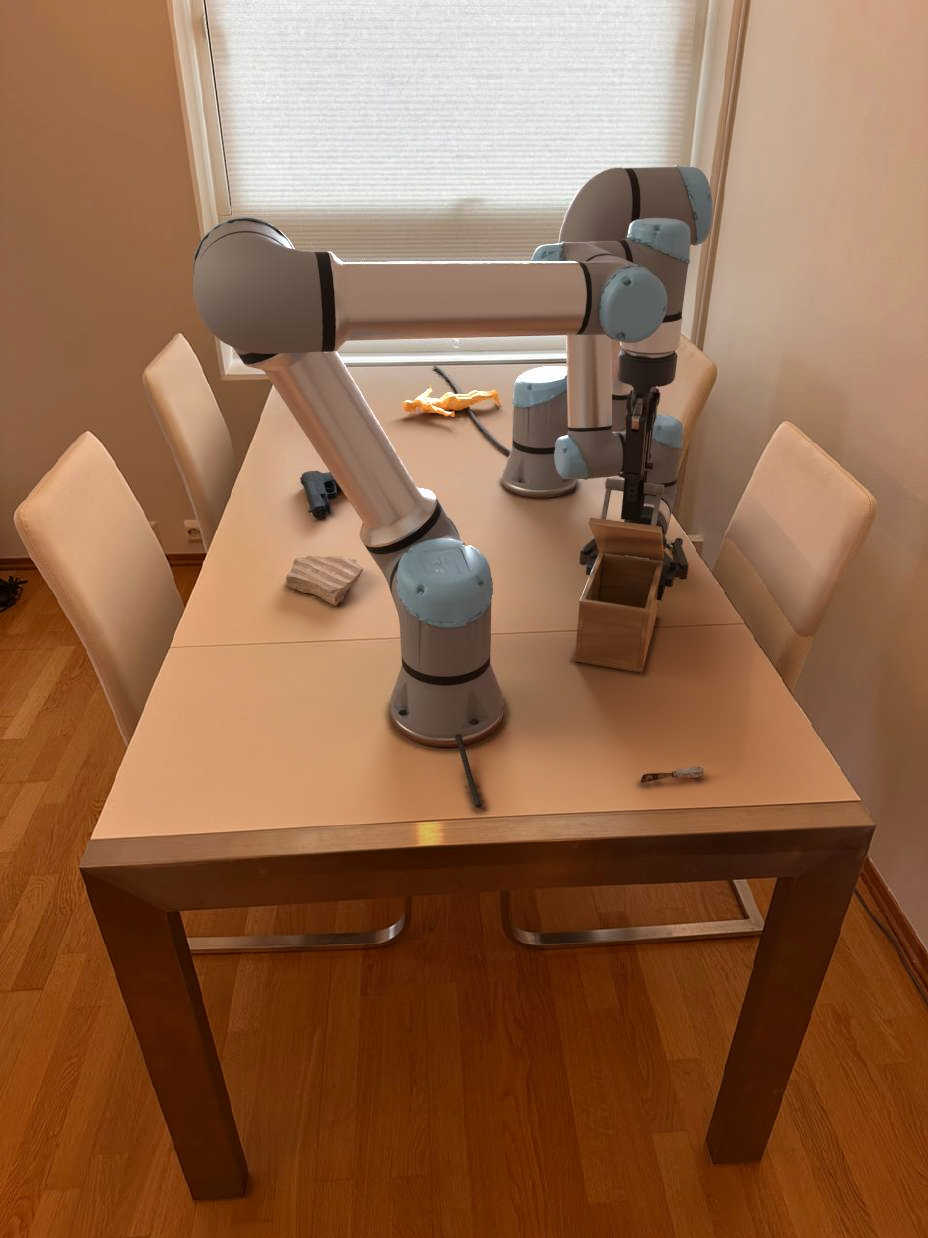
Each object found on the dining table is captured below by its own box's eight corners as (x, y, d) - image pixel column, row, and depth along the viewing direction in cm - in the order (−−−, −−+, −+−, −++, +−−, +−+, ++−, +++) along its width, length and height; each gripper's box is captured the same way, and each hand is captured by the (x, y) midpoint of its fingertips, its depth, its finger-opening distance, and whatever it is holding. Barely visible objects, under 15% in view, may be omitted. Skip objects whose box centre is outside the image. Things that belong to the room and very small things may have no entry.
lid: (660, 533, 120) (670, 477, 121) (588, 523, 122) (598, 469, 123) (663, 561, 135) (671, 511, 136) (599, 552, 138) (607, 503, 139)
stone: (372, 573, 153) (371, 560, 152) (338, 607, 144) (336, 593, 143) (307, 560, 158) (306, 548, 156) (270, 592, 148) (268, 579, 147)
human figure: (395, 413, 223) (394, 398, 221) (438, 390, 237) (438, 375, 235) (462, 429, 215) (462, 413, 213) (502, 404, 229) (503, 388, 227)
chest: (641, 673, 129) (649, 611, 123) (574, 661, 131) (579, 600, 126) (655, 618, 141) (663, 561, 136) (594, 609, 144) (599, 552, 138)
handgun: (371, 513, 174) (309, 521, 172) (356, 478, 189) (299, 484, 186) (370, 498, 173) (308, 506, 170) (355, 464, 187) (297, 470, 184)
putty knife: (703, 777, 109) (705, 767, 109) (642, 788, 108) (644, 777, 107) (700, 772, 110) (702, 762, 109) (639, 782, 109) (640, 771, 108)
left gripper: (628, 333, 122) (615, 493, 134) (609, 362, 110) (596, 534, 123) (684, 337, 120) (665, 499, 132) (670, 367, 108) (650, 541, 121)
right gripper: (709, 553, 153) (697, 620, 135) (580, 536, 159) (551, 597, 141) (715, 514, 149) (703, 576, 131) (582, 497, 155) (554, 555, 137)
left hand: (632, 515), depth 128 cm, fingers closed on lid, 1 cm apart
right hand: (625, 587), depth 136 cm, fingers closed on chest, 10 cm apart
